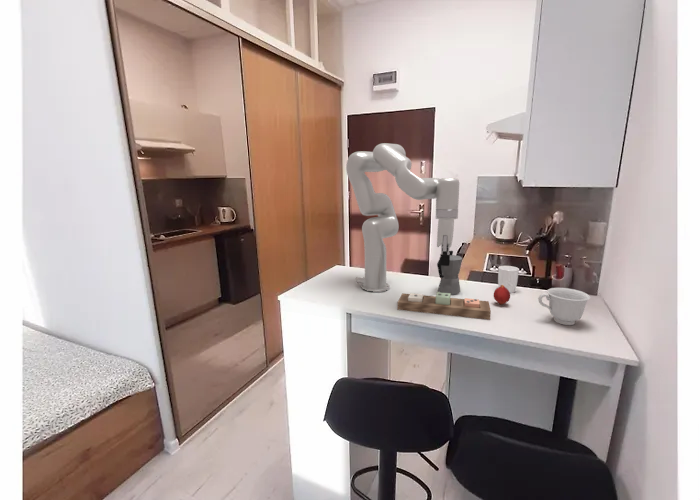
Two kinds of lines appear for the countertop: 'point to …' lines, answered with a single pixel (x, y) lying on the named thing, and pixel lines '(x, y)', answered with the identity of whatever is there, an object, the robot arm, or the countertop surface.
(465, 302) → the button three
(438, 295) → the button two
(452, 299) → the button panel
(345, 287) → the countertop surface
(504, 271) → the white cup
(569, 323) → the teacup
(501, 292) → the pomegranate
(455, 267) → the coffeepot
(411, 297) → the button one
